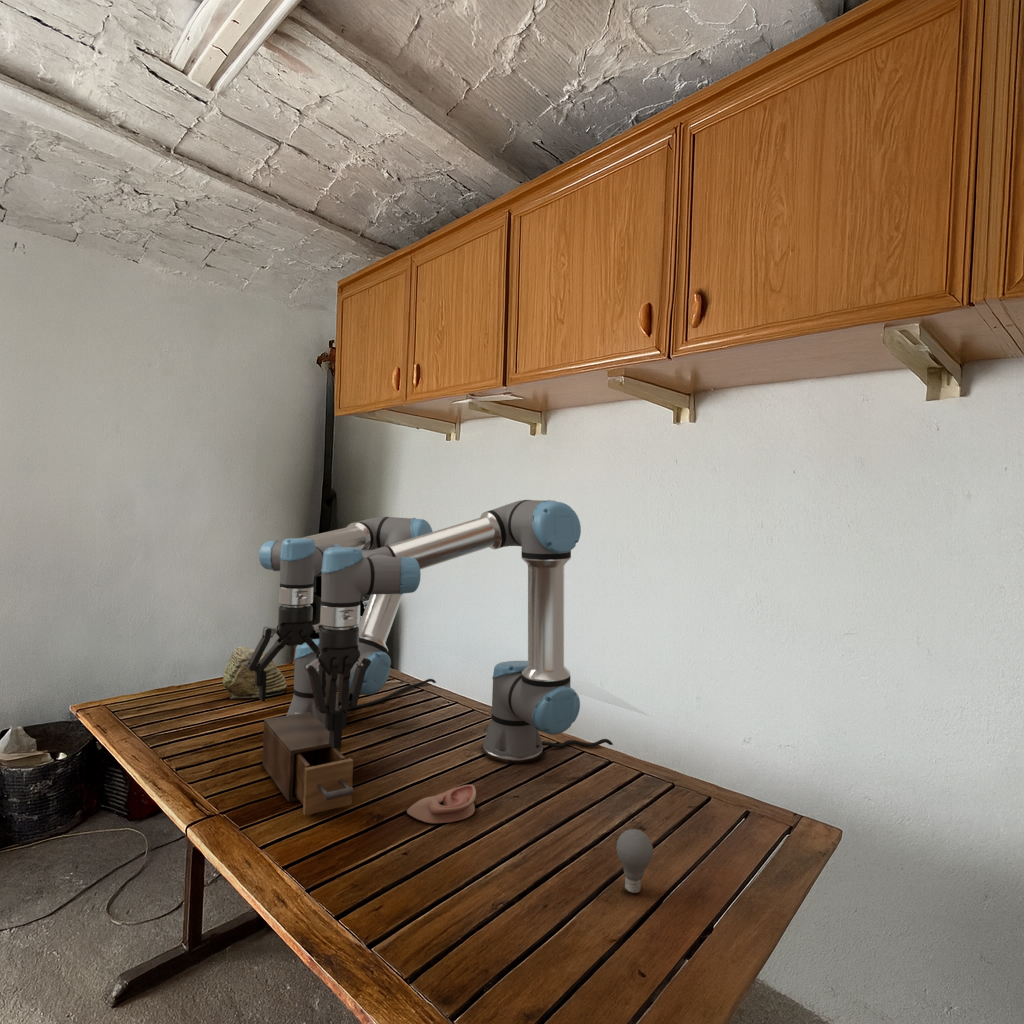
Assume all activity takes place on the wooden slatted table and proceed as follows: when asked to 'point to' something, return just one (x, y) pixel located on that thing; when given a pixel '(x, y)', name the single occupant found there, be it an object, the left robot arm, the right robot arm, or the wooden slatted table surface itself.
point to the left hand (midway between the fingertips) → (292, 695)
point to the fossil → (250, 676)
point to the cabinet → (290, 746)
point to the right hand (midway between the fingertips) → (335, 745)
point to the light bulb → (634, 857)
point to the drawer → (322, 779)
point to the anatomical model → (445, 806)
